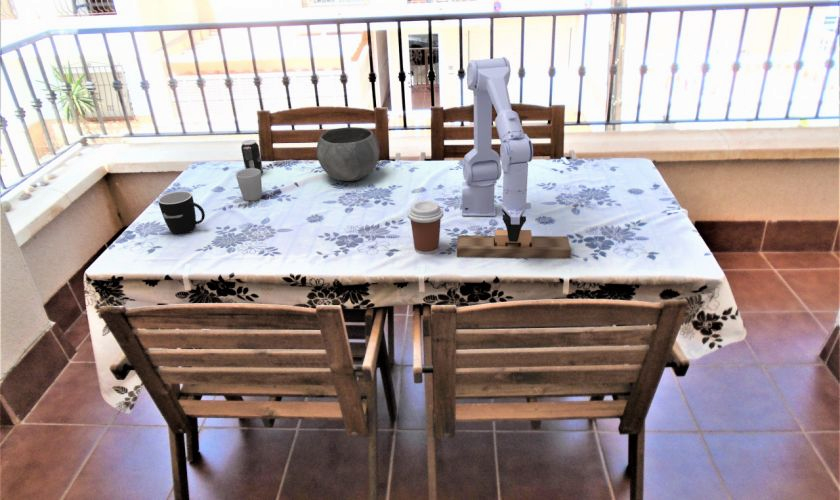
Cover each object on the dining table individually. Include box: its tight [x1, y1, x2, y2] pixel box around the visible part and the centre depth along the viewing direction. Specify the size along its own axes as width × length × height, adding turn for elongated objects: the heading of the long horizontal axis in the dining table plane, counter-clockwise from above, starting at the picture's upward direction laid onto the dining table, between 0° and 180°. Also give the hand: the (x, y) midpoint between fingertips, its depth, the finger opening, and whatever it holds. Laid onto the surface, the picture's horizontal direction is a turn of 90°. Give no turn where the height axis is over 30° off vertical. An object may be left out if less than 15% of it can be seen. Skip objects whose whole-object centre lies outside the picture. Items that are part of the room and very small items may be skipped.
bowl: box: [316, 126, 381, 182], centre depth 198 cm, size 20×20×15 cm
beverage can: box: [240, 139, 264, 175], centre depth 204 cm, size 6×6×12 cm
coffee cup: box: [407, 200, 444, 255], centre depth 152 cm, size 9×9×12 cm
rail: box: [456, 234, 572, 259], centre depth 152 cm, size 28×7×2 cm, turn 84°
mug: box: [157, 190, 206, 235], centre depth 168 cm, size 12×9×10 cm
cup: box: [235, 168, 263, 202], centre depth 188 cm, size 8×10×8 cm
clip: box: [494, 229, 533, 247], centre depth 151 cm, size 9×3×5 cm, turn 84°
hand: (512, 237), depth 150 cm, fingers closed on clip, 3 cm apart
